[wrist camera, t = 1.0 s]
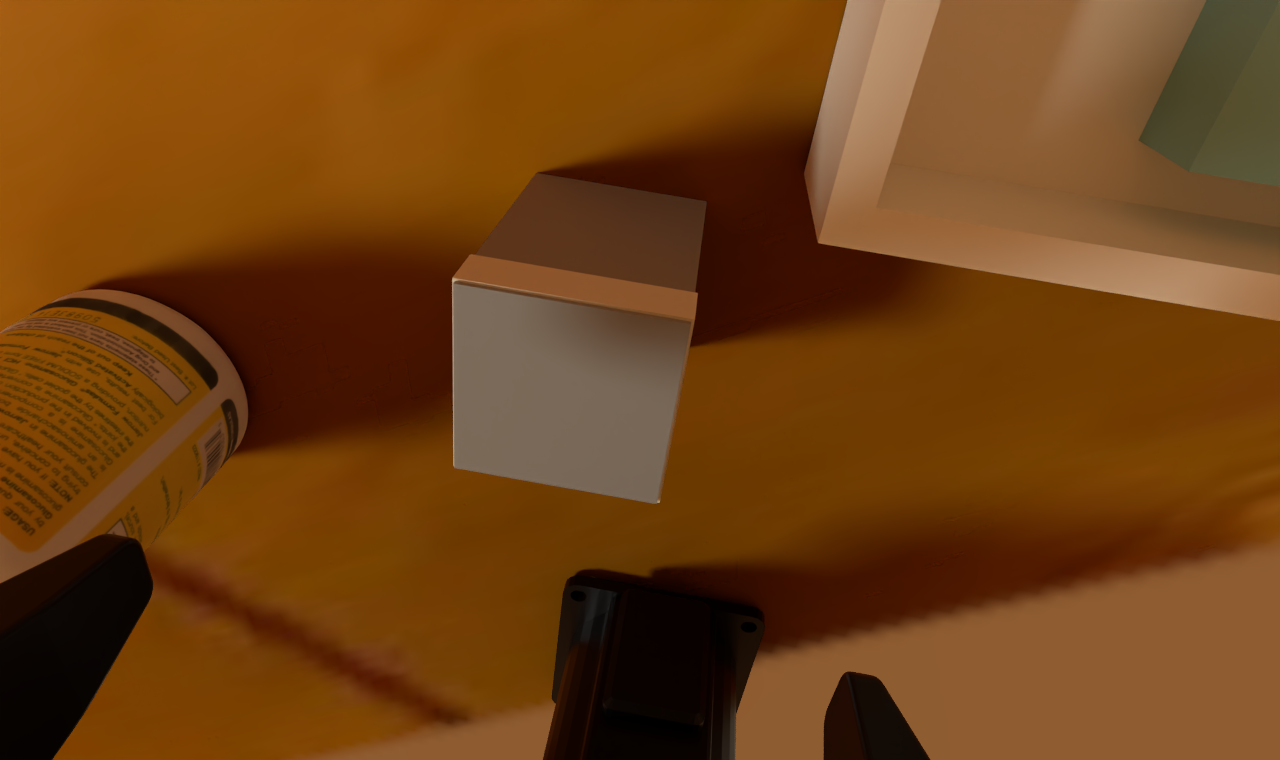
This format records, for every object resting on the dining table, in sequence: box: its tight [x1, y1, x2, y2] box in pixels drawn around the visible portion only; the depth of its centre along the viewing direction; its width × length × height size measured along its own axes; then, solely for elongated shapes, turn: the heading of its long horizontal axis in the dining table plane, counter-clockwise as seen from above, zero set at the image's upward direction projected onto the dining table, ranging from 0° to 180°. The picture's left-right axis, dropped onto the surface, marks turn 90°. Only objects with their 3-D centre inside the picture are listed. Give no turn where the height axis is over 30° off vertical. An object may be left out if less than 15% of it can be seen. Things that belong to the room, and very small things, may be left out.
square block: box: [452, 173, 707, 504], centre depth 16 cm, size 4×4×6 cm
